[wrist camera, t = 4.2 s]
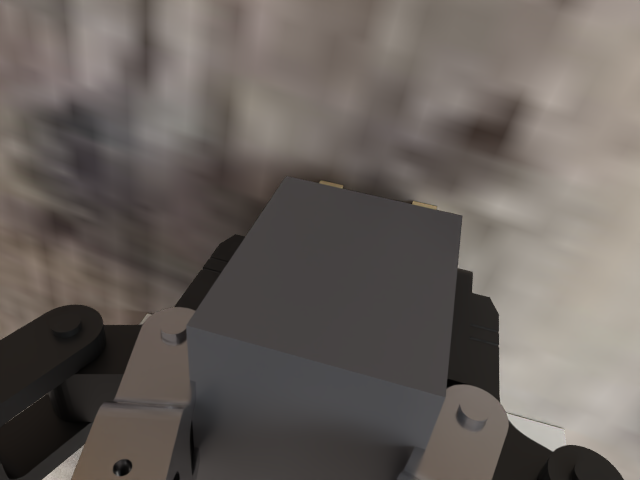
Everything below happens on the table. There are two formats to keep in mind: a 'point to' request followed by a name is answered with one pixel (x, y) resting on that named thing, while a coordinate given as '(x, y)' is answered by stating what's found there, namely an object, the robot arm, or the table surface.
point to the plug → (325, 338)
